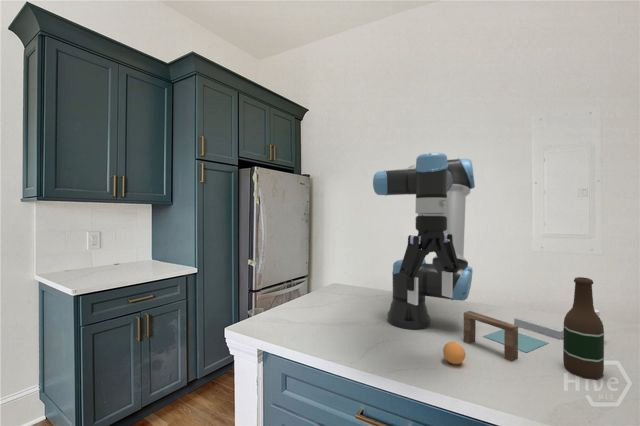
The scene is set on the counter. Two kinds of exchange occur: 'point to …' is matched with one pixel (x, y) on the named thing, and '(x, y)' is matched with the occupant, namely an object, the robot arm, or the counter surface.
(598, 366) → the beer bottle
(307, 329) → the counter surface
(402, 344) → the counter surface
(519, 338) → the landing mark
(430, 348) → the counter surface
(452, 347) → the ball
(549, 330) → the wall
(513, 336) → the bridge
